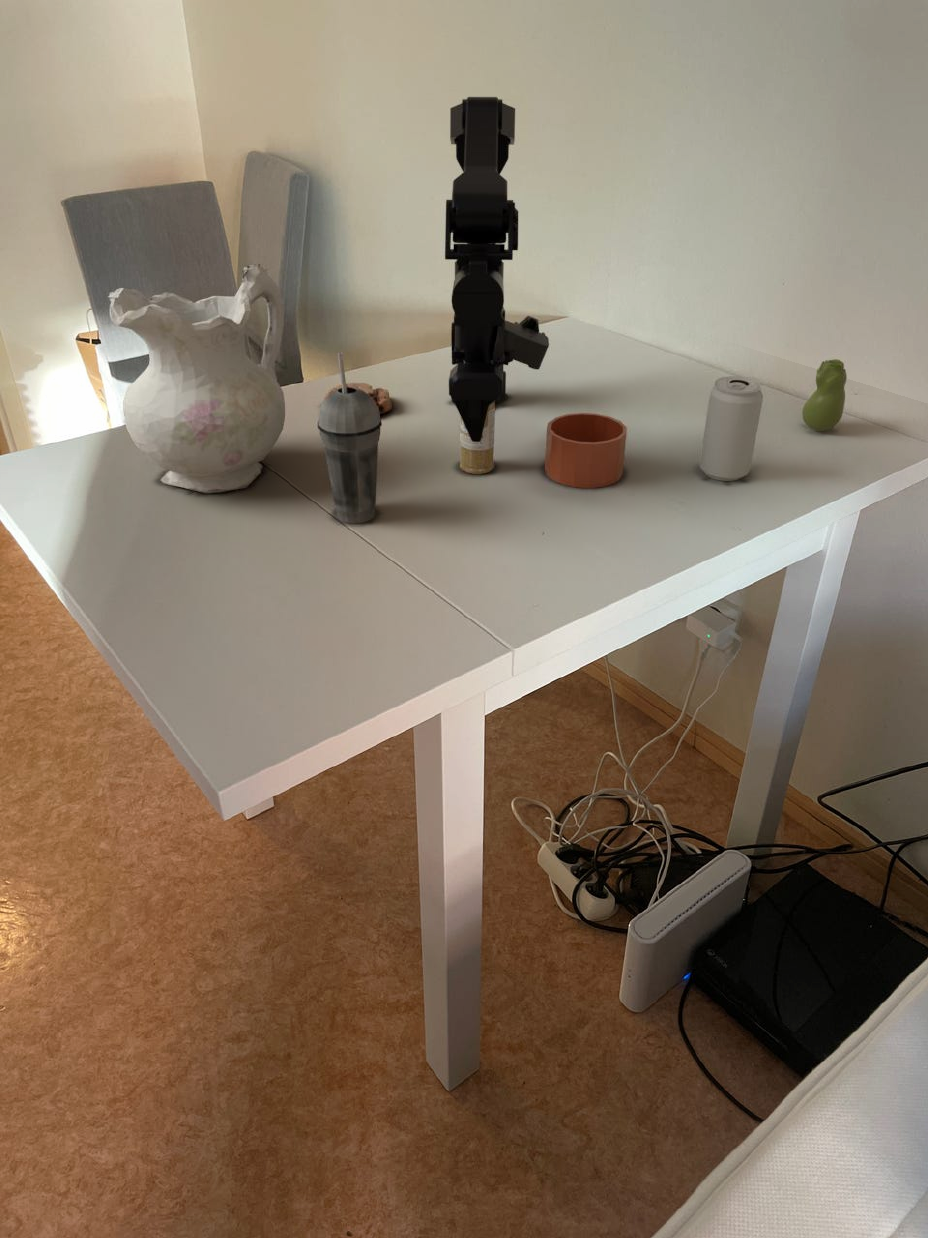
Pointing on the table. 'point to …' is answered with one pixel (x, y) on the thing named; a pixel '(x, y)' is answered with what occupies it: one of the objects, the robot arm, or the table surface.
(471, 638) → the table surface
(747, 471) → the beverage can
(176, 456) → the ceramic pitcher
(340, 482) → the beverage cup
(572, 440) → the bowl
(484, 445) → the sprinkles bottle
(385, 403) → the cookie
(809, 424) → the pear
